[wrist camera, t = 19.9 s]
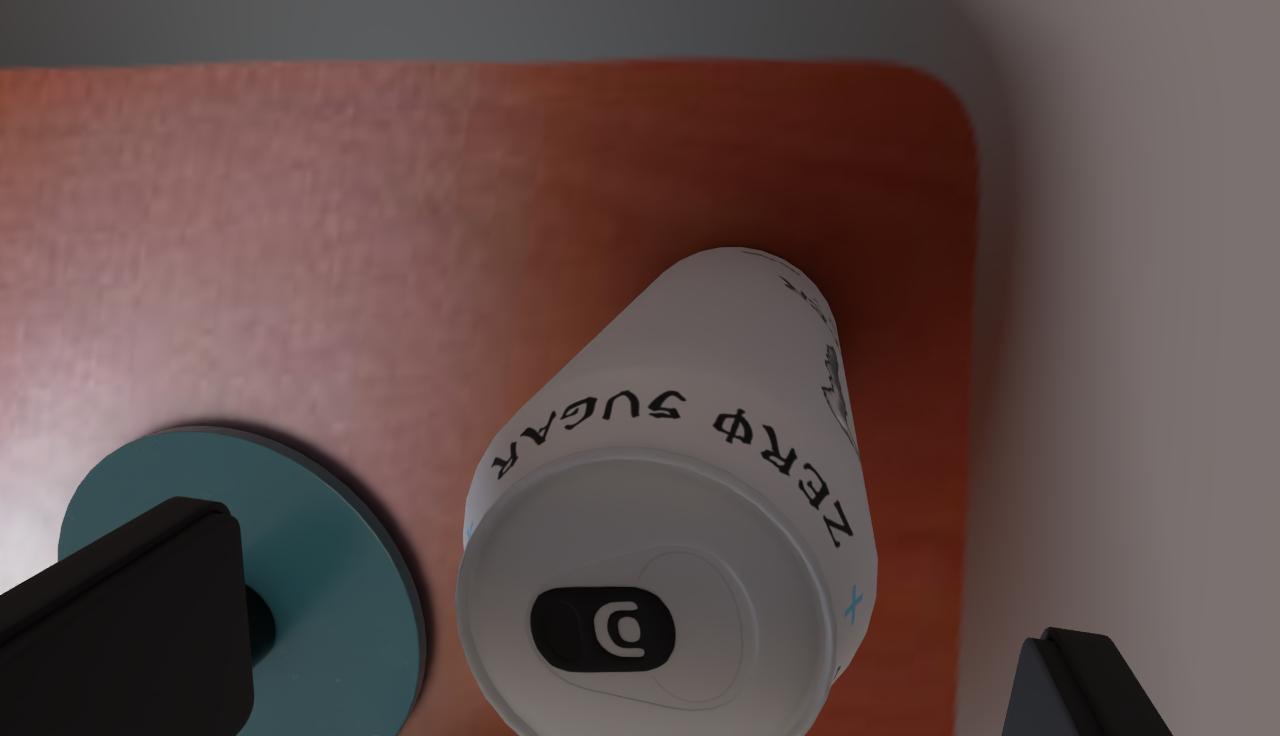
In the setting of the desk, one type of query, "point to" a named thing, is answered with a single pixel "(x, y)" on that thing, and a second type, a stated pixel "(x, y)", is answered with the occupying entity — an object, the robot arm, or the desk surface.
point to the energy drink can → (676, 519)
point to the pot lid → (284, 575)
